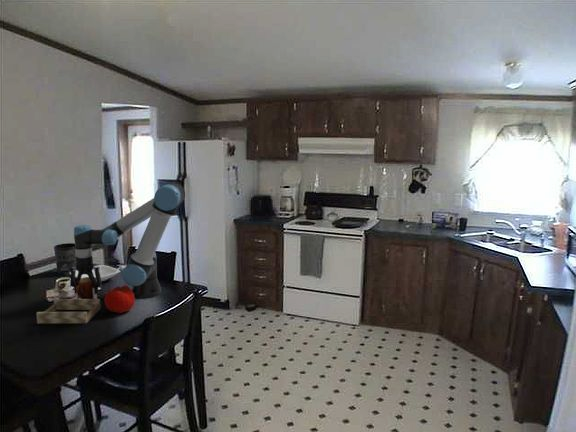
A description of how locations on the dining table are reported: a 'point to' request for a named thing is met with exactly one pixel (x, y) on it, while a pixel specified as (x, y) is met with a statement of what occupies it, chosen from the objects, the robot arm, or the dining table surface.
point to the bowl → (102, 272)
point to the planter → (65, 256)
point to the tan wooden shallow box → (69, 317)
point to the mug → (85, 288)
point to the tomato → (119, 299)
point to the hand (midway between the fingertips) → (87, 299)
